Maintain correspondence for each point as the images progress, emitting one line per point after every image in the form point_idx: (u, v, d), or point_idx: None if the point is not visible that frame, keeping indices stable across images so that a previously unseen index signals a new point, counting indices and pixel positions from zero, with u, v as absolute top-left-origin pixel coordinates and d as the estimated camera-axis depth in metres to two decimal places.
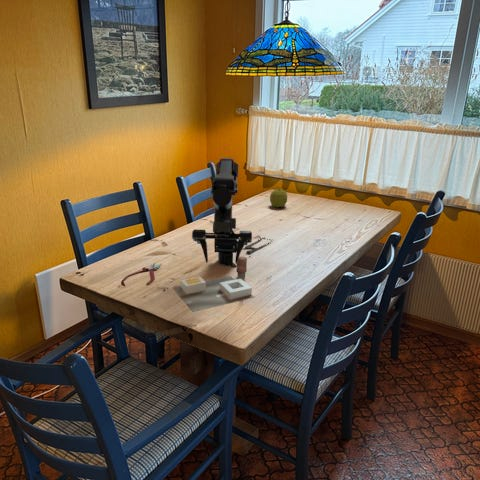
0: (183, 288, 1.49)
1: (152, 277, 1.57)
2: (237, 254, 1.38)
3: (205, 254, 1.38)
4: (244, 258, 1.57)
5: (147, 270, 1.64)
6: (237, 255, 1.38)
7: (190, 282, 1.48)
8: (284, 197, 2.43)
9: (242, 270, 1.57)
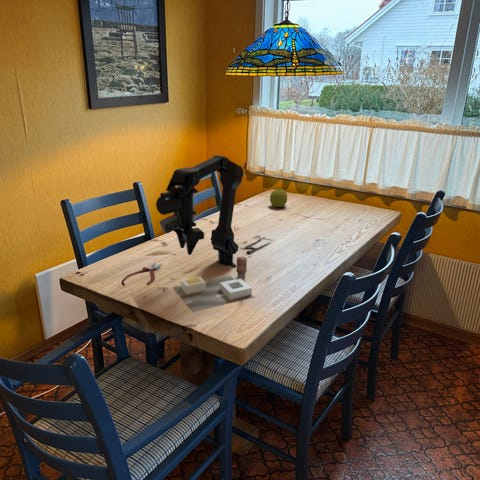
0: (183, 288, 1.49)
1: (152, 277, 1.57)
2: None
3: (179, 241, 1.53)
4: (244, 258, 1.57)
5: (147, 270, 1.64)
6: (187, 249, 1.47)
7: (190, 282, 1.48)
8: (284, 197, 2.43)
9: (242, 270, 1.57)
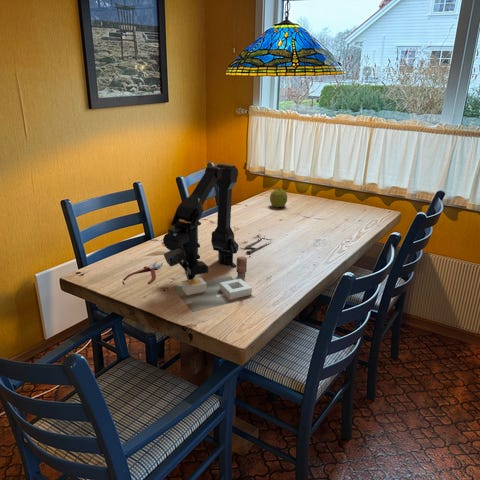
0: (184, 289, 1.48)
1: (153, 276, 1.58)
2: (187, 276, 1.51)
3: (186, 276, 1.52)
4: (244, 258, 1.57)
5: (148, 269, 1.65)
6: (187, 277, 1.51)
7: (191, 283, 1.47)
8: (284, 197, 2.43)
9: (242, 270, 1.57)
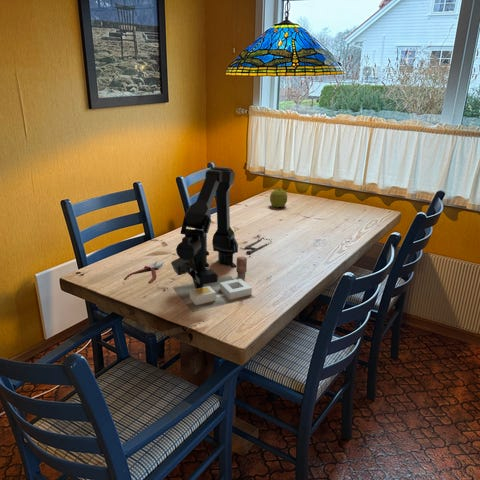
0: (192, 298, 1.42)
1: (154, 276, 1.58)
2: (195, 285, 1.45)
3: (194, 284, 1.46)
4: (244, 258, 1.57)
5: (149, 269, 1.65)
6: (195, 286, 1.45)
7: (199, 292, 1.41)
8: (284, 197, 2.43)
9: (242, 270, 1.57)
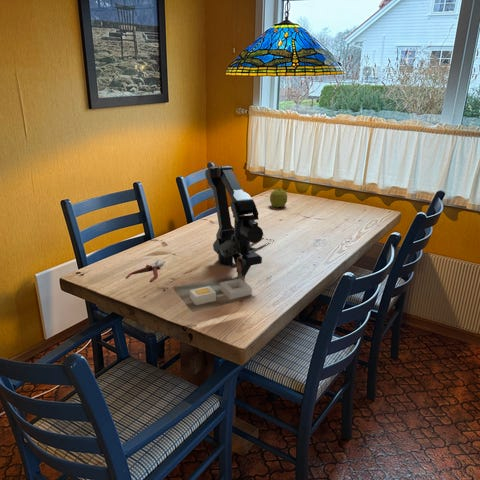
0: (192, 299, 1.42)
1: (155, 274, 1.59)
2: (242, 269, 1.56)
3: (236, 265, 1.60)
4: None
5: (150, 267, 1.66)
6: (242, 270, 1.56)
7: (199, 292, 1.41)
8: (284, 197, 2.43)
9: None
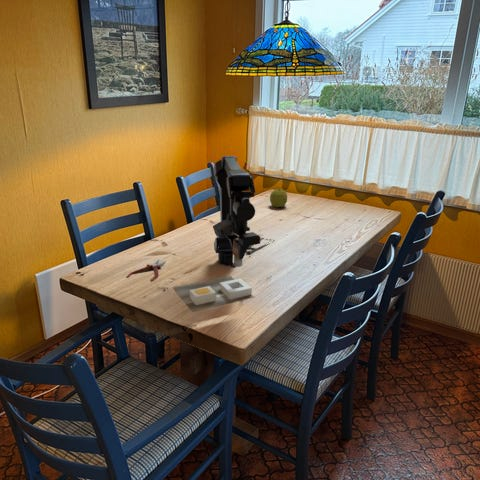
0: (192, 299, 1.42)
1: (156, 274, 1.60)
2: (238, 252, 1.43)
3: (232, 248, 1.48)
4: None
5: (151, 267, 1.66)
6: (239, 253, 1.44)
7: (199, 292, 1.41)
8: (284, 197, 2.43)
9: None
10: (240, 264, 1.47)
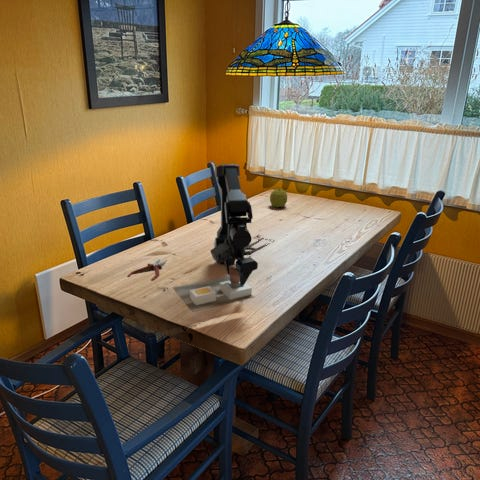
0: (192, 299, 1.42)
1: (157, 273, 1.60)
2: (240, 279, 1.42)
3: (226, 268, 1.50)
4: None
5: (152, 266, 1.67)
6: (240, 280, 1.42)
7: (199, 292, 1.41)
8: (284, 197, 2.43)
9: (235, 279, 1.46)
10: None
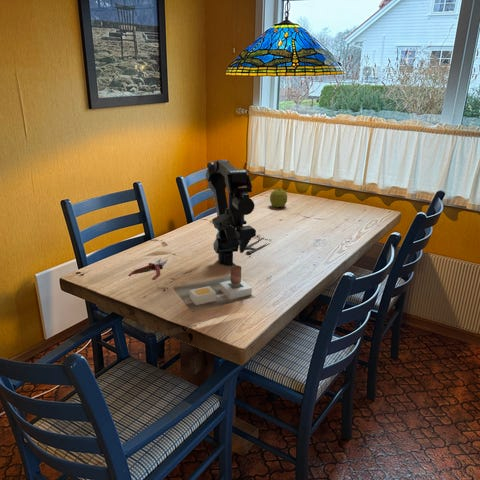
0: (192, 299, 1.42)
1: (158, 272, 1.61)
2: (239, 246, 1.52)
3: (226, 237, 1.61)
4: (238, 267, 1.46)
5: (153, 265, 1.68)
6: (239, 247, 1.52)
7: (199, 292, 1.41)
8: (284, 197, 2.43)
9: (236, 280, 1.46)
10: None
